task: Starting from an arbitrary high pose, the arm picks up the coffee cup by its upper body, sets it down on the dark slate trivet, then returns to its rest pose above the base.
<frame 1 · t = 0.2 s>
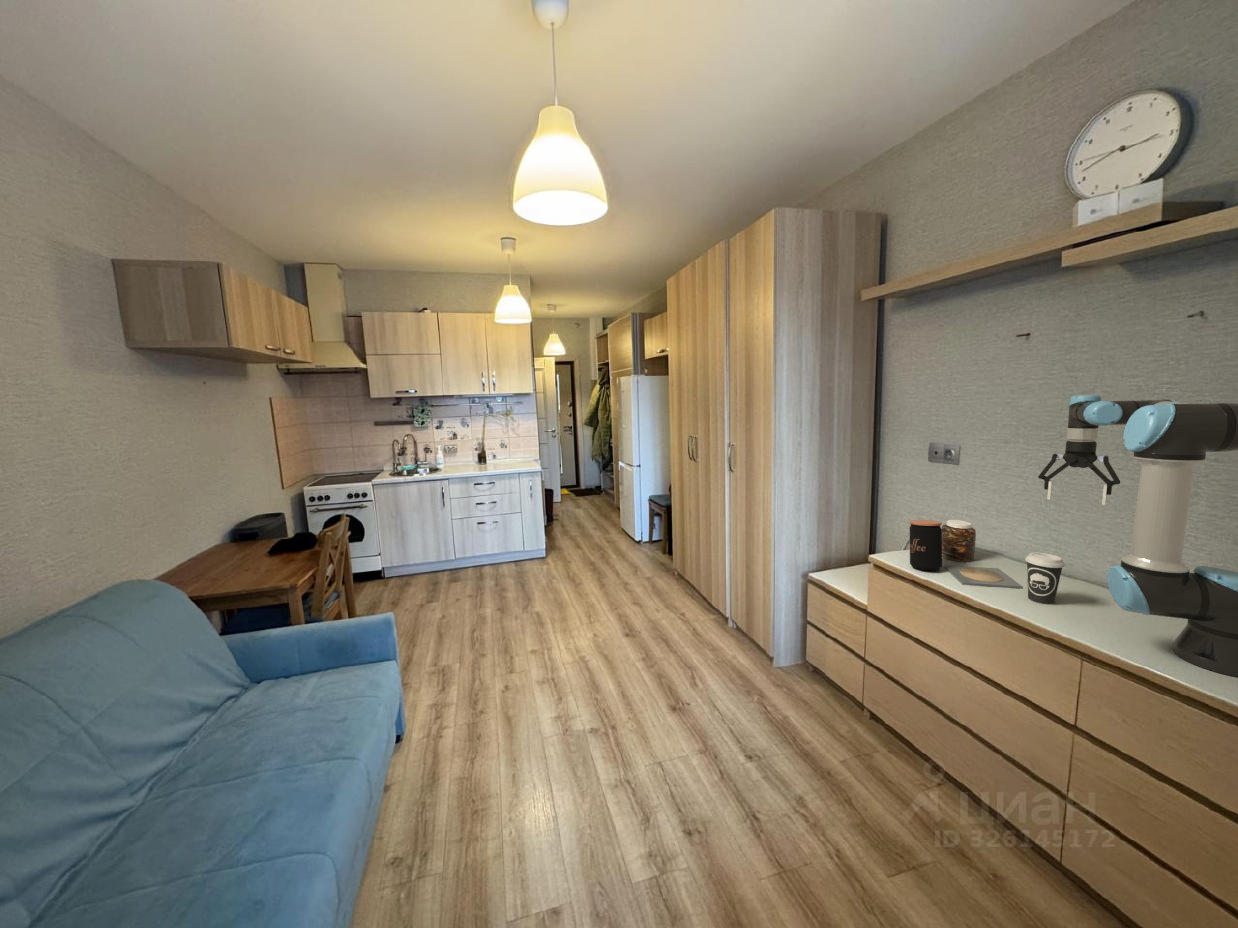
hand: (1075, 501, 163), 30 cm above the dresser top, fingers open, 13 cm apart
coffee jar: (925, 567, 184), on the dresser top
jar: (956, 557, 196), on the dresser top
coffee cup: (1040, 600, 154), on the dresser top
trivet: (980, 577, 174), on the dresser top
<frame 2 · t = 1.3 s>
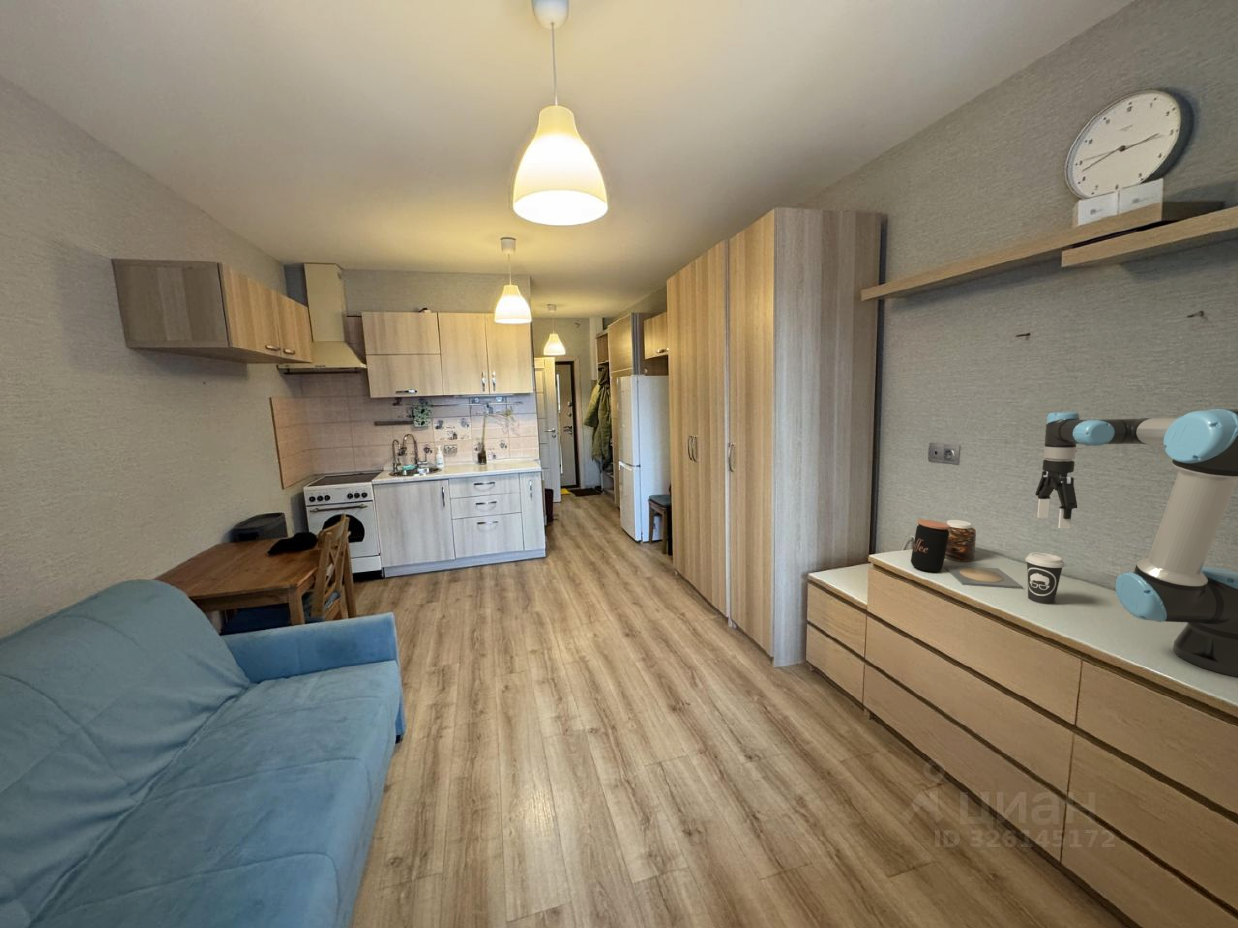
hand: (1052, 522, 156), 25 cm above the dresser top, fingers open, 13 cm apart
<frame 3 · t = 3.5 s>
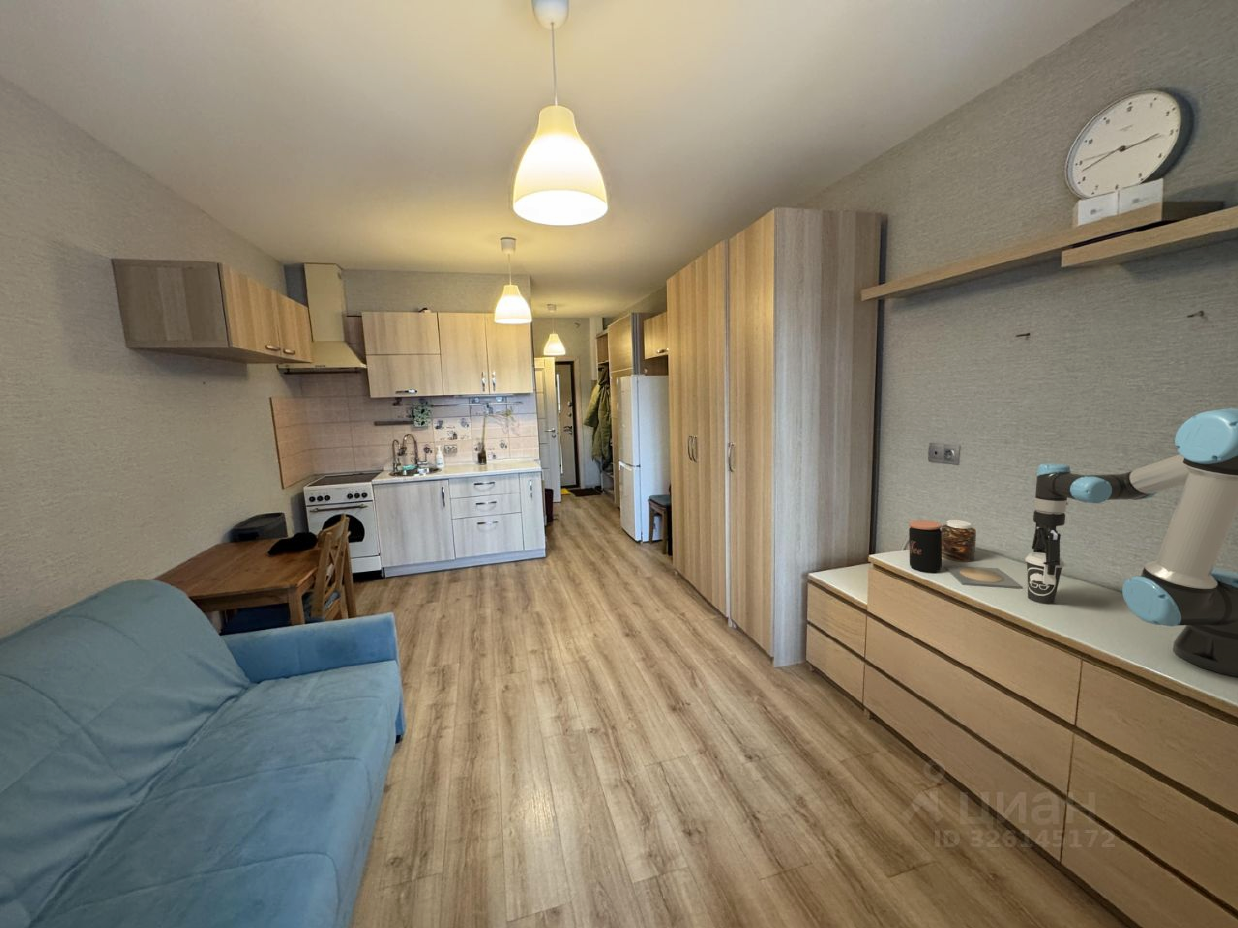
hand: (1043, 577, 153), 8 cm above the dresser top, fingers closed on coffee cup, 9 cm apart
coffee cup: (1040, 600, 154), on the dresser top, touching gripper
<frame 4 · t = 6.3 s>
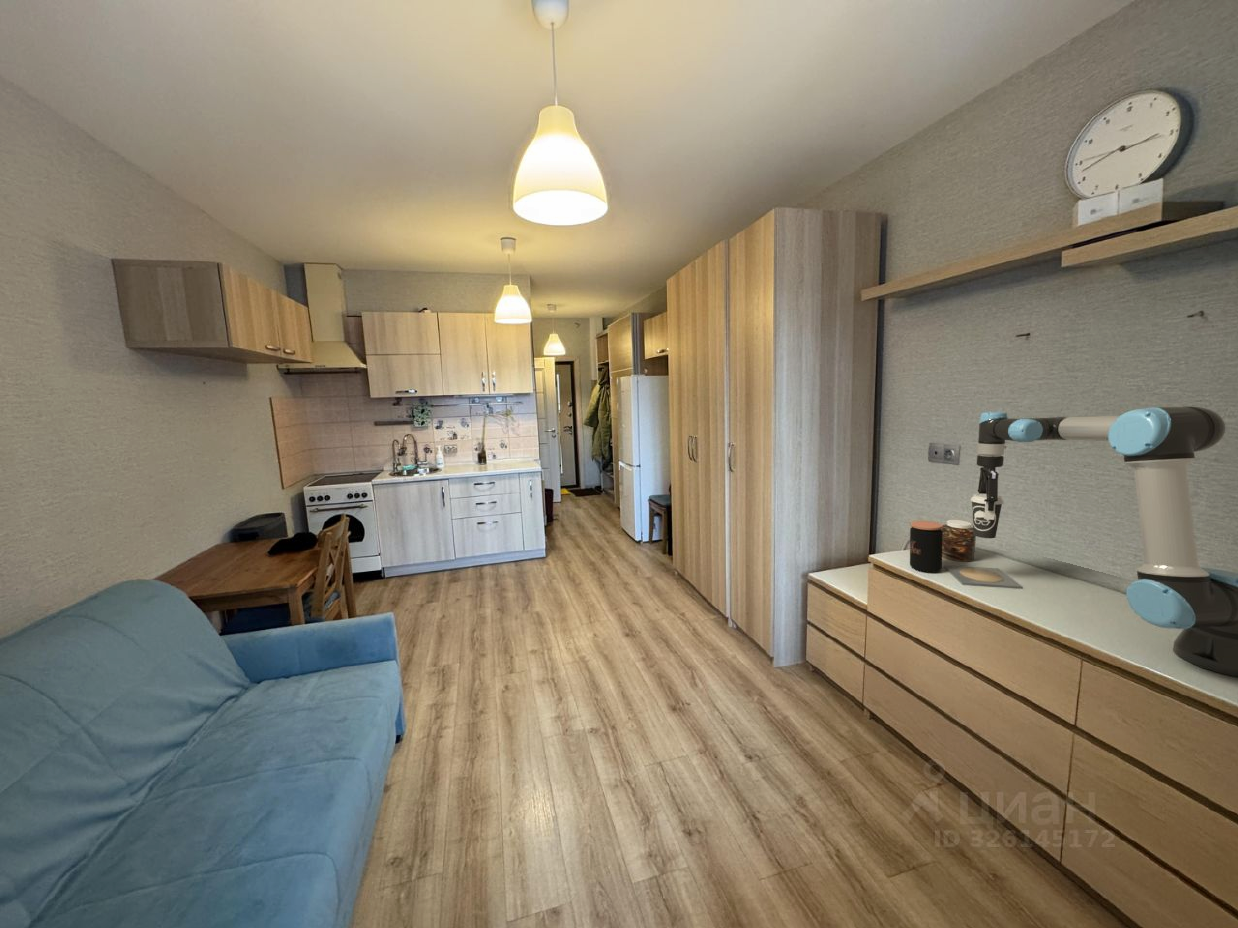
hand: (985, 515, 171), 24 cm above the dresser top, fingers closed on coffee cup, 9 cm apart
coffee cup: (984, 536, 172), point 16 cm above the dresser top, touching gripper
when the fingers open (9 cm above the dresser top, at t = 9.5 s): coffee cup stays where it is, resting on trivet.
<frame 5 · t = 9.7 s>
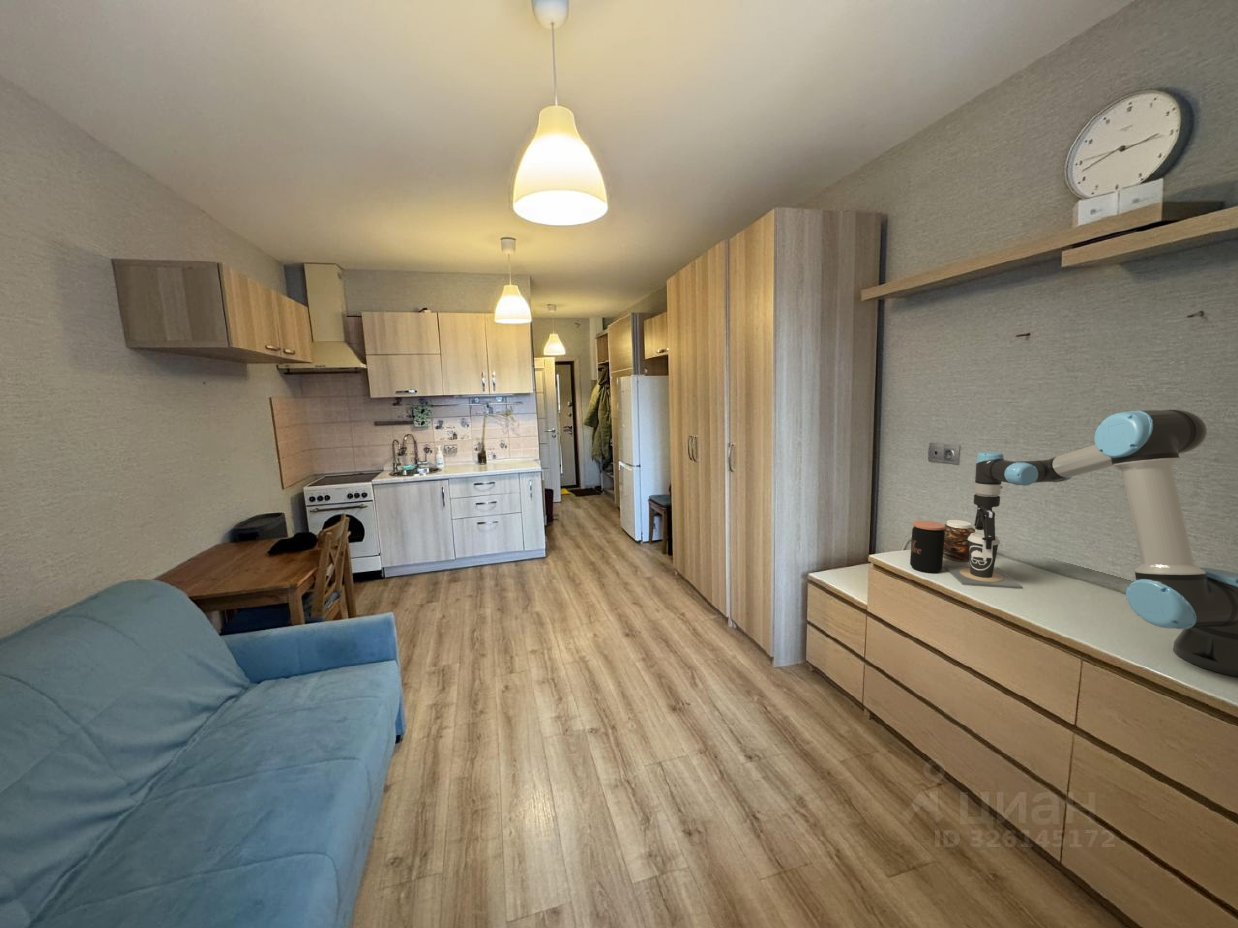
hand: (982, 551, 173), 10 cm above the dresser top, fingers open, 12 cm apart
coffee cup: (981, 575, 174), point 1 cm above the dresser top, touching trivet
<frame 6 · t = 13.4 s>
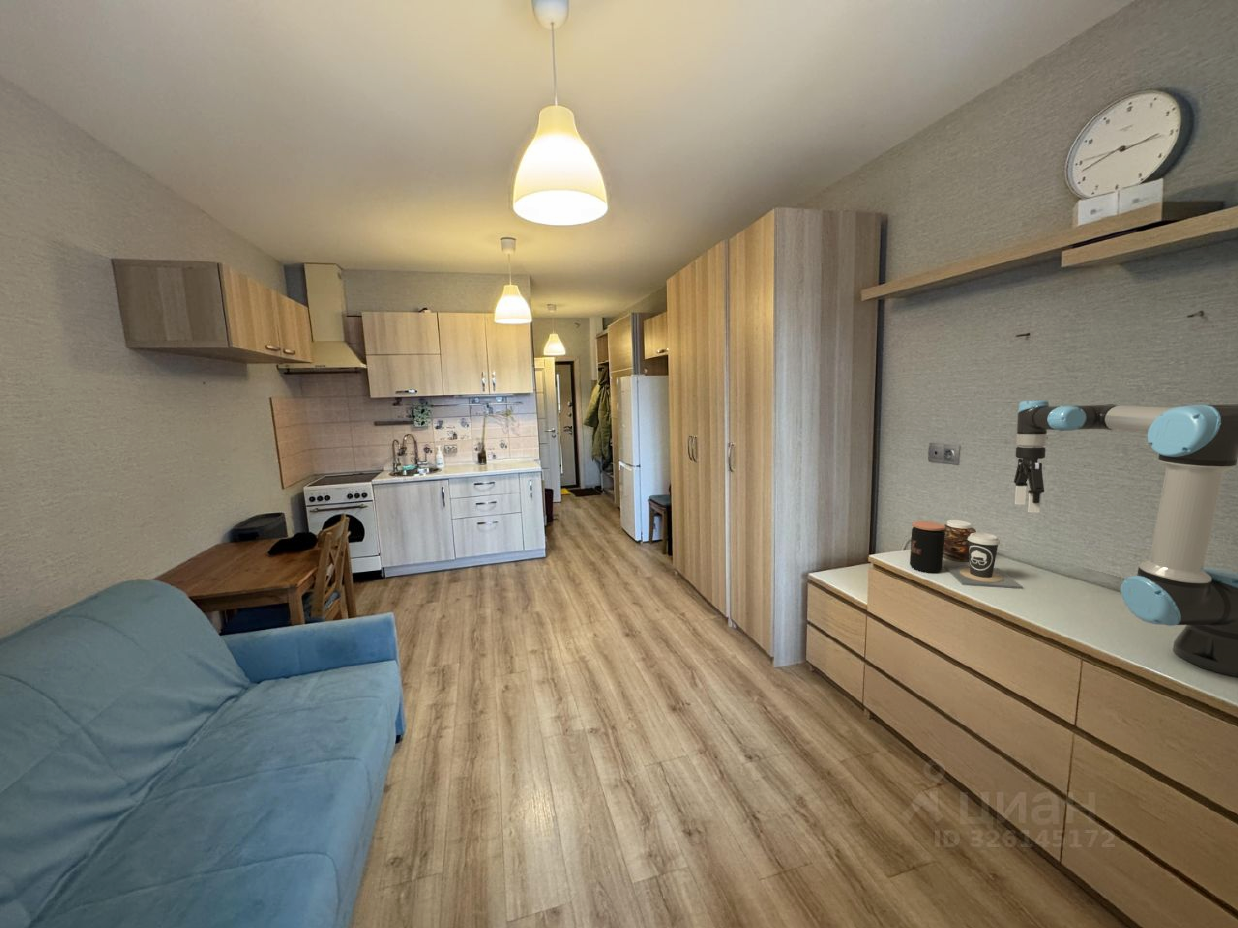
hand: (1026, 508, 160), 29 cm above the dresser top, fingers open, 13 cm apart
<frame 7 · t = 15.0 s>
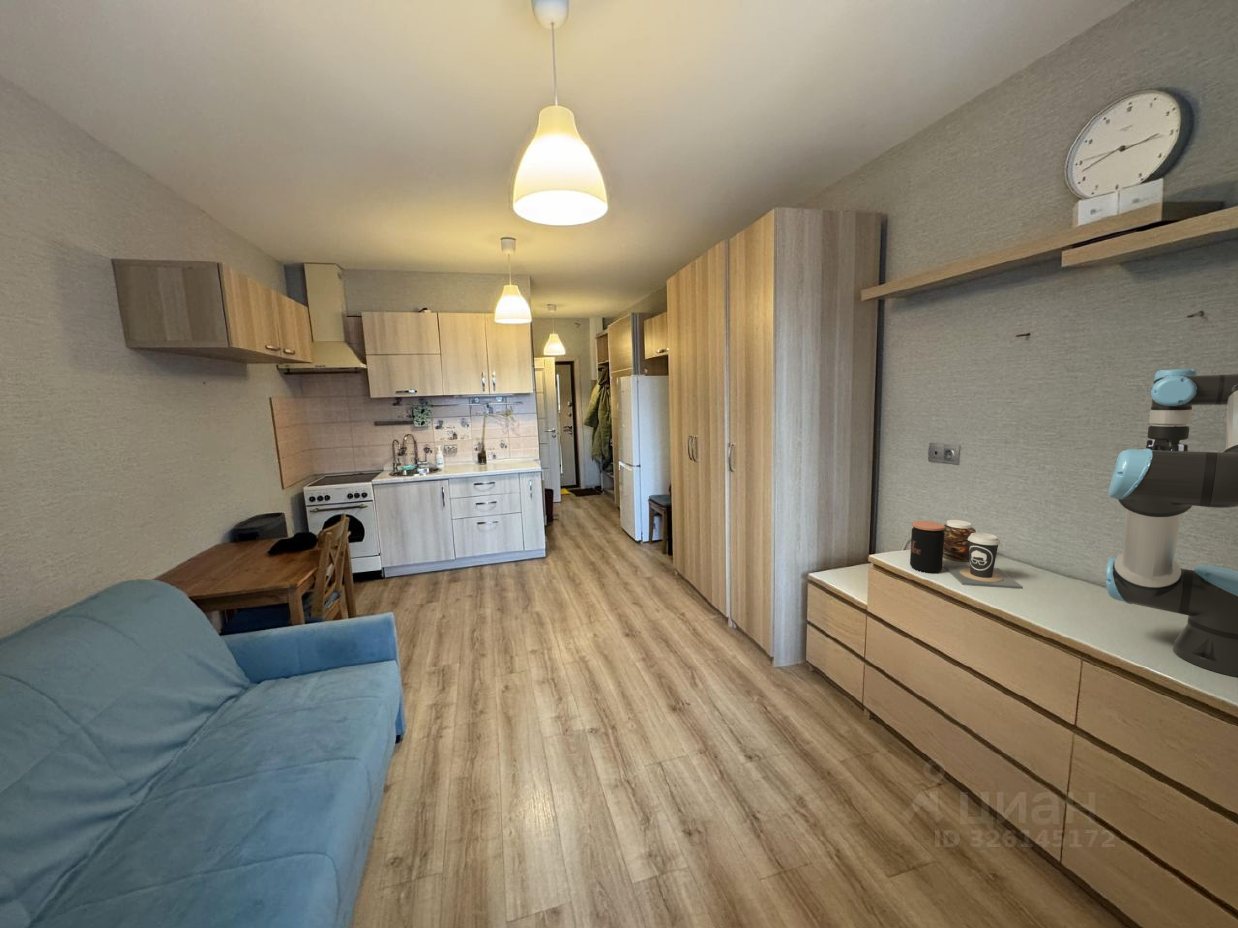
hand: (1159, 499, 134), 37 cm above the dresser top, fingers open, 13 cm apart
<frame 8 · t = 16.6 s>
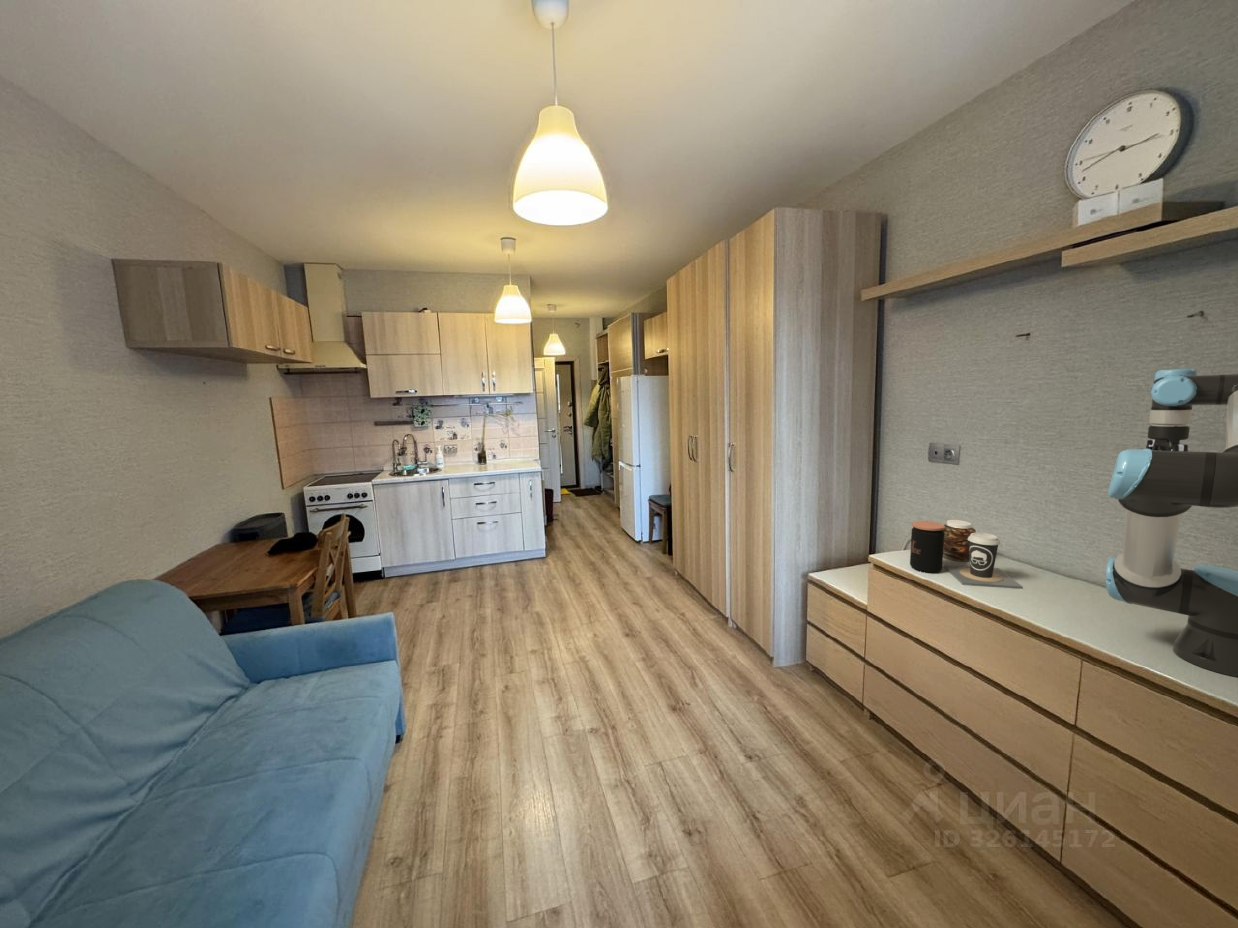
hand: (1159, 499, 134), 37 cm above the dresser top, fingers open, 13 cm apart
at the end: coffee cup inside the target area on the trivet (0.1 cm from its centre), point 0.8 cm above the trivet's base; coffee cup tilted 0°; the gripper is holding nothing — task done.
